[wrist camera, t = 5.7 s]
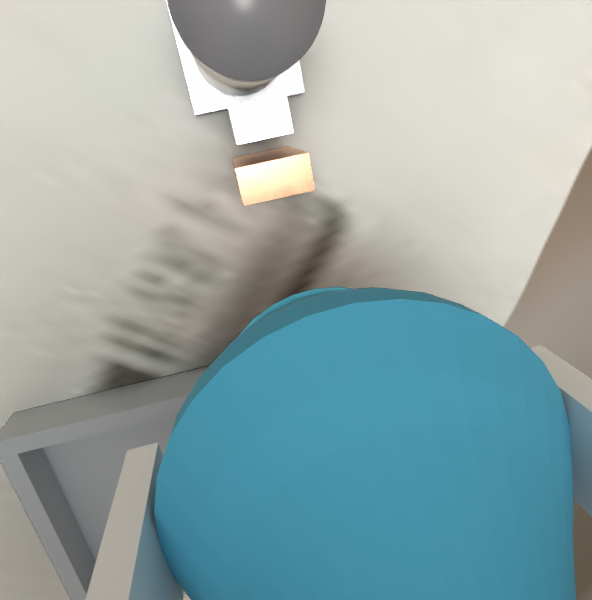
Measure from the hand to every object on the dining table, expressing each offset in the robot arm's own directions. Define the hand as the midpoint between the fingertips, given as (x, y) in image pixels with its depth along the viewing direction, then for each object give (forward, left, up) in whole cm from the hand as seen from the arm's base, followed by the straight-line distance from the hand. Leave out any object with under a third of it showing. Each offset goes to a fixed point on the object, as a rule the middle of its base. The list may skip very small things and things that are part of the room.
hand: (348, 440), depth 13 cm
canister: (0, +11, -16) cm, 20 cm away
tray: (-10, -12, -17) cm, 23 cm away
